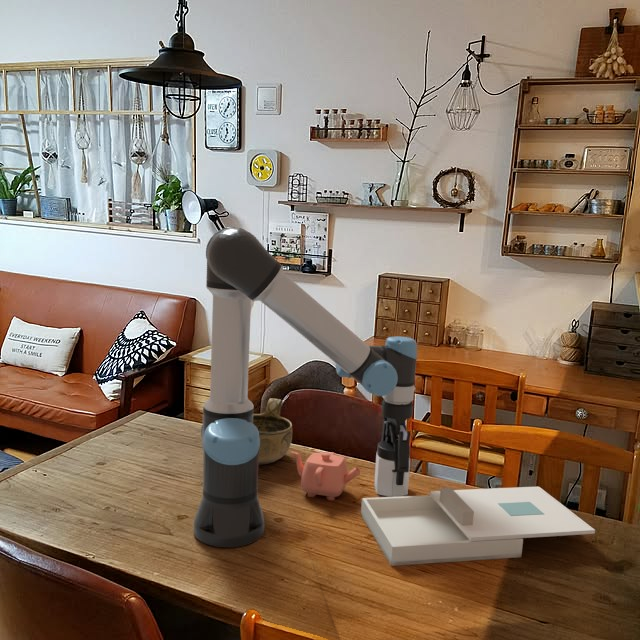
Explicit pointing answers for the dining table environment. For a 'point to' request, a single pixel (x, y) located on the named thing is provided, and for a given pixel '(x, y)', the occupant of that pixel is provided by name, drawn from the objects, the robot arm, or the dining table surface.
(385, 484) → the jar
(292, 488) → the dining table surface
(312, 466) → the teapot
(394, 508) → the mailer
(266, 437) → the ceramic bowl
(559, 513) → the lid
